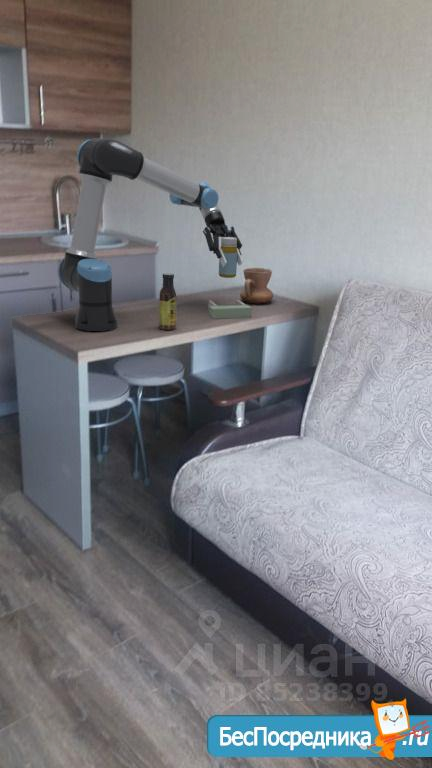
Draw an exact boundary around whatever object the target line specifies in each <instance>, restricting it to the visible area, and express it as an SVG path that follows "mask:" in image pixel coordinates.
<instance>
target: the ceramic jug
mask: <svg viewBox="0 0 432 768" xmlns="http://www.w3.org/2000/svg"><path fill="white" fill-rule="evenodd" d="M272 274H273V270H272V269H271V268H265V267H248V268H245V269H243V276H244V279H245V281H244V286H243V287H244V289H243V290H241V291H240V293H239V297H240V298H241V299H242V301H244V302H247V303H249V304H254V303H256V304H261V303H262V304H266V303H269V302H271V301H272V300H273V298H274V293H273V291H272V290H270V289H269V288H268V287H267V286H268V284H269V282H270V280H271V277H272ZM262 304H261V305H262Z"/></svg>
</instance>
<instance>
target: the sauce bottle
mask: <svg viewBox="0 0 432 768" xmlns="http://www.w3.org/2000/svg"><path fill="white" fill-rule="evenodd" d="M174 279H175V274H174V273H173V272H164V273H162V287H161V289H160V291H159V300H158V301H159V304H158V323H159V324H158V326H159V329H160V330H165V331H169V330H171V331H172V330H175V329H176V325H177V300H178V298H177V293H176V291H175V290H176V289H175V287H174Z"/></svg>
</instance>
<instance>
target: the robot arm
mask: <svg viewBox="0 0 432 768" xmlns="http://www.w3.org/2000/svg"><path fill="white" fill-rule="evenodd" d="M76 160H77V163H78V165H79V171H78V172H79V173H78V175H79V176H80V178H81V186H80V190H79V191H80V193H79V199H78V205H77V209H76V216H75V222H74V227H73V232H72V238H71V244H70V247H69V248H67V249H66V250H65V254H64V258H63V259H61V260H60V261H59V263H58V265H57V270H56V271H57V278H58V280H59V281H60V283H61V284H62V285H63V286H65V287H66V288H67V289H69V290H72V291H75V292H78V310H77V313H76V316H75V320H74V328H75V329H77V328H78V329H77V330H79V329H81V330H80V331H82V330H86V331H85V332H89V331H102V332H108V331H107V330H109V331H113V330H115V329H117V328H118V325H119V324H118V322H119V321H118V318H117V315H116V313H115V309H114V307H113V280H112V279H113V273H112V272H113V271H112V266H111V264H110V263H109V262H108V261H105V260H102V259H99V258H98V256H97V255H96V253H95V249H96V244H97V239H98V233H99V230H100V229H99V227H100V222H101V216H102V212H103V207H104V206H103V205H104V200H105V196H106V191H107V187H108V185H110V184H111V183H112V181H113V177H114V176H117V177H118V176H119V177H124V178H127V179H129V180H131V181H134V180H139V181H141V182H142V183H146V184H148V185H149V186H152V187H154V188H157V189H158V190H161V191H163V192H165V193H168V194H169V201H170V202H171V203H172V204H174V205H178V206H188V207H193V208H199V211H200V213H201V217H202V218H203V220H204V223H205V227H204V228H203V231H202V233H203V234H204V237H205V239H206V244H207V247H208V250H209V251H210V252H212V253H213V254H214V255H216V258H217V259H218V260H219V259H220V262H221V264H222V267H224V266H225V265H226V263H227V261H226V259H225V256H224V254H223V252H222V249H220V242H219V241H220V238H222V237H234V238H237V244H236V245H237V246H236V247H237V265H238V266H242V263H244V260H243V258H242V252H241V249H242V247H243V244H242V242H241V240H240V238H239V237H238V234H237V233H236V232H235V227H234V226H231V227H230V226H229V227H228V226H227V224H226V219H225V218H224V215H223V213H222V211H221V208H220V206H219V204H218V202H219V194H218V191H216V190H215V189H214V188H211V186H210V184H209V183H208V182H207V181H200V182H199V181H198V182H195V181H193V180H191V179H189V178H187V177H185V176H182V175H180V174H179V173H177V172H175V171H173V170H171V169H168V168H166V167H164V166H162V165H161V164H159V163H156V162H154V161H152V160H150V159H147V158H146V157H145V155H144V154H143V152H141V151H138V150H136V148H132V147H131V146H129V145H127V144H125V143H123V142H121V141H119V140H116V139H113V138H98V137H96V138H95V137H94V138H91V139H90V138H89V139H87V140H85V141H84V142H82V143H81V145H79V147H78V149H77V154H76Z"/></svg>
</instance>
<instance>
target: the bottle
mask: <svg viewBox="0 0 432 768" xmlns="http://www.w3.org/2000/svg"><path fill="white" fill-rule="evenodd" d="M236 244H237V238H234V237H220V245H221V246H220V247H219V249H222V252H223V254H224V256H225V259H226V261H227V263H226V265H225V266H224V267H222V264H221V262H220V259H218V276H219V277H221V278H225V279H230V278H235V277H237V269H238V267H237V265H238V263H237V247H236V246H237V245H236Z"/></svg>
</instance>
